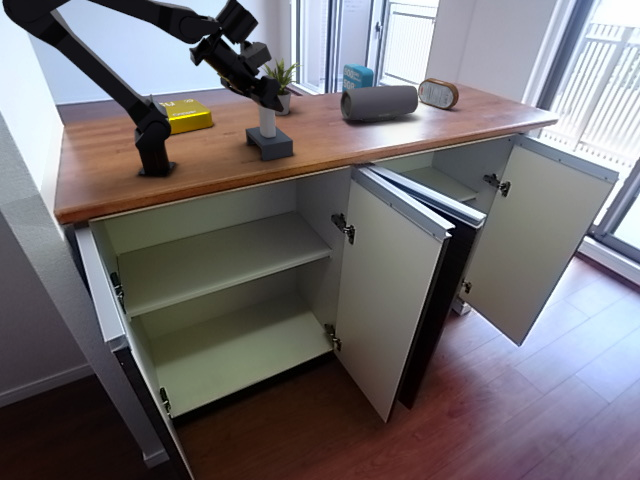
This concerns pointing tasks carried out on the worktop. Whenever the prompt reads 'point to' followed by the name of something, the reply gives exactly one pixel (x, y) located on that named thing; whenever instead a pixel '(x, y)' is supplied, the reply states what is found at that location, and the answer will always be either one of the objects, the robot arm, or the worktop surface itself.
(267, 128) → the eye dropper bottle
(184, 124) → the element tile
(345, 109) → the bluetooth speaker
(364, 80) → the data package
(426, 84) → the tin
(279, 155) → the shelf
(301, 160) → the worktop surface
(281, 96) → the house plant
